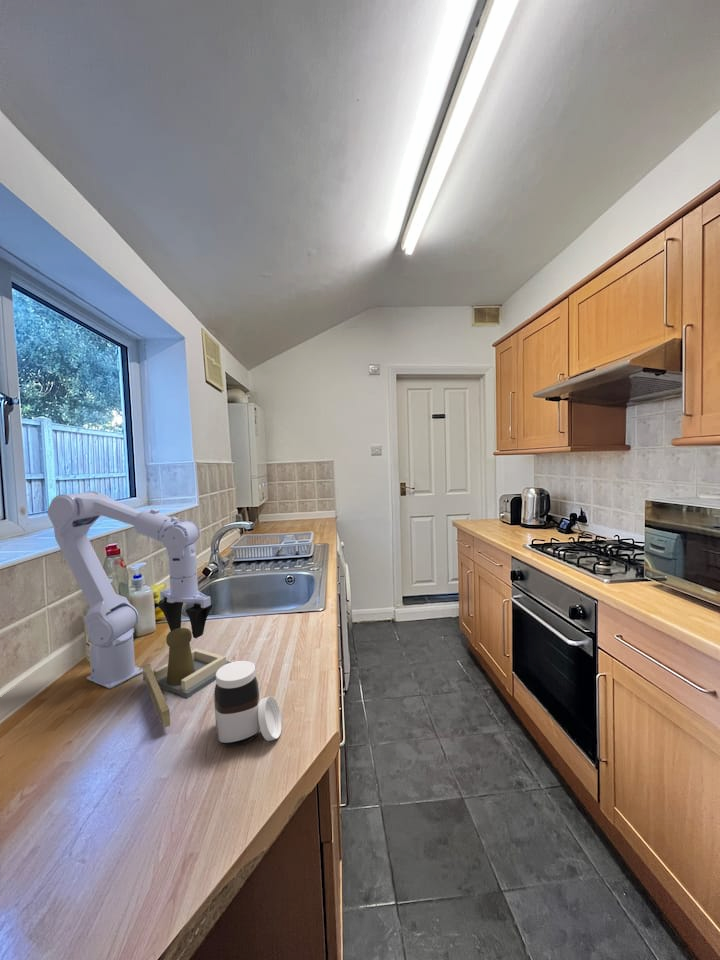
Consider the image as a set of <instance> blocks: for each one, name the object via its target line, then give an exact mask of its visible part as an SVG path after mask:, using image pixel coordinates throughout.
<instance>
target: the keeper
mask: <svg viewBox="0 0 720 960" xmlns="http://www.w3.org/2000/svg"><path fill="white" fill-rule="evenodd" d="M151 666H152V665H151V664H150V663H147V664H146V663H145V664H144V665H143V666H142V669H143V672H142V680H143V682H144V683H145V685H146V688H147V691H148V692H149V695H150V698H151V701H152V703H153V706H154V709H155V711H156V714H157V717H158V719H159V722H160V724H161V727H162V728H163V729H165V728H167V727H170V726H171V713H170V708H169V705H168V703H167V701H166V699H165V696H164V694H163V691H162V690H161V688H160V687H159V685H158V683H157V681H156V678H155V676H154V670H153V669H152V667H151Z"/></svg>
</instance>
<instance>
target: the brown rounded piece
mask: <svg viewBox="0 0 720 960" xmlns="http://www.w3.org/2000/svg"><path fill="white" fill-rule="evenodd" d="M192 638H193V634H192V630H190V629H189V628H186V627H181V628H177V629H174V630H172V631H169V632H168V634H167V635H166V637H165V640H166V644H167V646H168V647H169V649H168V650H169V651H168V661H167V663H168V671H167V684H169V685H173V686H176V685H181V680H182V679H184V678H185V677H187V676H189V675H191V674H192V673H194V672H195V668H194V663H193V658H192V653H191V651H192V649H191V643H190V642H191V641H192Z"/></svg>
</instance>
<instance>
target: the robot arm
mask: <svg viewBox="0 0 720 960" xmlns="http://www.w3.org/2000/svg"><path fill="white" fill-rule="evenodd" d="M46 514H47V516H48V518H49V520H50V522H51V524H52V525H53V533H54V538H55V540H56V542H57V544H58V547H59V549H60V551H61V553H62V555H63V556H64V558H65V560H66V563H67V565H68V566H69V568H70V570H71V572H72V574H73V577H74V578H75V580H76V582H77V584H78V586H79V588H80V590H81V592H82V594H83V596H84V597H85V598H84V599H85V600H86V602H87V604H88V606H89V608H88V610H87V613H86V614H85V616H84V624H86V630H87V631H86V632H87V637H88V639H89V640H90V642H91V643H92V644H91V646H90V648H89V665H90V675H88V676H87V677H86V680H88V681H90V682H93V683H95V684H98V685H100V686H102V687H105V688H107V689H112V688H114V687H117V686H119V685H121V684H122V683H124V682H126V681H128V680H130V679H132V678H134V677H136V676H138V675H140V674H141V673H142V674H143V668H140V667H138V666H136V660H135V659H136V658H135V648H134V647H135V644H134V633H135V627H136V626H137V625H138V624H139V620H140V614H139V612H138V610H137V609H136V607H135V606H134V605H132V604H131V603H130V601H129V600H128V598H127V597H125V596H122V595H120V594H117V593H116V591H115V589H114V587H113V585H112V583H111V581H110V579H109V578H108V576H107V575H108V574H107V573H106V571H105V569H104V568H103V565H102V563H101V561H100V559H99V558H98V556H97V553H96V552H95V550H94V547H93V546H92V544H91V542H90V539H89V538H88V535H87V534H88V533H89V531H90V529H91V528H92V526H93V525H94V524H95V523H96V522H97V521H98V519H99V518H100V517H101V516H103V517H105V518H109V519H112V520H116V521H118V522H122V523H125V524H128V525H132V526H133V527H134V531H135V532H136V533H138V534H139V535H142V536H146V537H148V538H151V539H153V540H156V541H157V542H161V544H162V545H163V546H164V548H165V549H166V552H167V556H168V569H169V571H168V572H169V586H170V587H169V588H165V589H162V590H160V592H159V594H160V595H159V596H160V600H163V601H162V602H160V603H158V608H159V609H160V610H161V612H162V613H163V615H164V617H165V619H166V622H167V625H168V628H169V630H170V631H169V632H171V631H172V630H174V629H177V628H182V611H183V605H184V603H185V604H189V605H193V606H191V607H188V608H186V609H185V612H186V615H187V617H188V619H189V622H190V626H191V633H192V638H193V639H198V638H199V637H201V636H203V635H204V630H205V625H206V622H207V619H208V617H209V613H210V612H211V609H212V608H213V603H212V602H211V601H212V600H211V596H210V595H209V596H208V595H205V594H204V593H203V592H201V591H199V583H198V582H199V581H198V564H197V563H198V562H197V549H196V548H197V546H196V543H197V541H198V540H199V538H200V534H201V533H200V528H199V526H198V525H197V524H196V523H195V522H193V521H191V520H190V519H185V520H182V521H180V520H179V518H178V517H176V516H173V517H171V516H168V515H165V514H163V513H161V512H160V509H157V508H153V509H145V510H143V511H140V510H138V509H136V508H134V507H131V506H129V505H127V504H124V503H122V502H120V501H118V500H115V499H113V498H111V497H109V496H108V495H107V494H105V493H104V494H103V493H99V492H97V491H94V490H93V491H90V490H89V491H86V492H80V493H79V492H78V493H70V494H66V493H64V494H62V493H61V494H59V495H56V496H55V497H53V499H52V500H51V501H50V504H49V506H48V509H47V510H46ZM108 611H109V612H108Z"/></svg>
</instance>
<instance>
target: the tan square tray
mask: <svg viewBox="0 0 720 960" xmlns="http://www.w3.org/2000/svg"><path fill="white" fill-rule="evenodd" d="M191 653H192V658H193V663H194V668H195V672H194V673H192V674H191V675H189V676H187V677H185V678H184V679H182V680H181V685H176V686H173V685H169V684H167V671H168V662H167V663H165V664H164V665H162V666H160V667H157V668H155V669H154V670H153V674H154V676H155V678H156V681H157V683H158V685H159V687H160V689H163V690H165V691H168V692H171V693H174V694H176V695H178V696H181V697H184V698H186V699H189V698H191V696H193V695H195V694H197V692H199V691H201V690H202V689H204V688H206V687H207V686H208V685H209V686H210V684H212V683H213V682H216V672H217V671H218V669H219V668H221V667H222V666H224V665H226V664H228V663H231V662H232V661H228V660H227V656H225V655H221V654H218V653H214V652H210V651H207V650H204V649H200V648H197V647H195V648H194V649H191Z"/></svg>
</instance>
